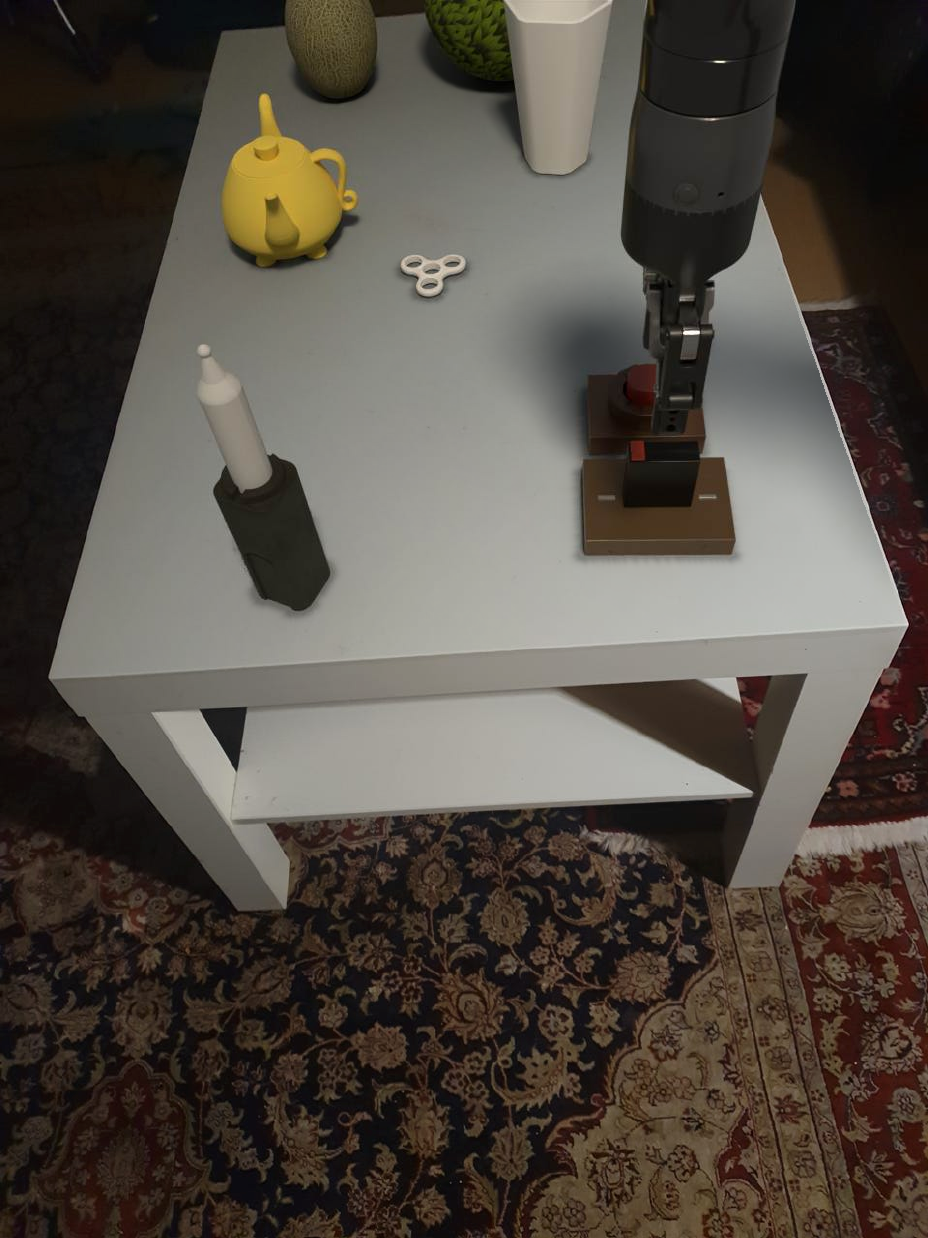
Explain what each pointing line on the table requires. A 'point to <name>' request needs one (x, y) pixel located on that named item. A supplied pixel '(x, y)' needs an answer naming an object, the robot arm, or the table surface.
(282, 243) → the teapot
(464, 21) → the decorative ball
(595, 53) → the cup
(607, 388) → the block
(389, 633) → the table surface
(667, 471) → the thumbturn
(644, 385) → the button
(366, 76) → the fruit
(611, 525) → the plate
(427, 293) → the fidget spinner
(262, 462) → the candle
